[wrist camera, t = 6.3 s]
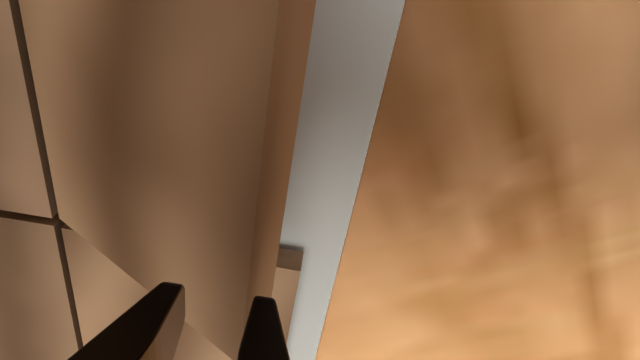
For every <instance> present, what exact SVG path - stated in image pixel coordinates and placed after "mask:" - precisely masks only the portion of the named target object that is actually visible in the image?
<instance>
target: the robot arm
mask: <svg viewBox="0 0 640 360" xmlns="http://www.w3.org/2000/svg"><path fill="white" fill-rule="evenodd" d="M184 321H185V288H184V286H183V285H182V284H178V283H172V282H162V283H160V284H158V285H157V286H156V287H155V288H154V289H152V290H151V291H150V292H149V293H147V294H146V295H145V296H144V297H143V298H141V299H140V300H139V301H138V302H136V303H135V304H134V305H133V306H132V307H130V308H129V309H128V310H127V311H126V312H124V313H123V314H122V315H121V316H119V317H118V318H117V319H116V320H115V321H113V322H112V323H111V324H110V325H109V326H107V327H106V328H105V329H104V330H102V331H101V332H100V333H99V334H98V335H96V336H95V337H94V338H93V339H92V340H90V341H89V342H88V343H87V344H85V345H84V346H83V347H82V348H81V349H79V350H78V351H77V352H76V353H75V354H73V355H72V356H71V357H70V358H68V359H67V360H173V358H174V355H175V352H176V348H177V345H178V342H179V338H180V335H181V332H182V328H183V325H184ZM237 360H290V357H289V353H288V349H287V345H286V341H285V336H284V332H283V328H282V324H281V320H280V316H279V312H278V307H277V303H276V300H275V299H274V298H271V297H264V296H255V297H254V298H253V301H252V304H251V308H250V311H249V315H248V318H247V322H246V325H245V329H244V332H243V336H242V339H241V343H240V347H239V352H238V358H237Z"/></svg>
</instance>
